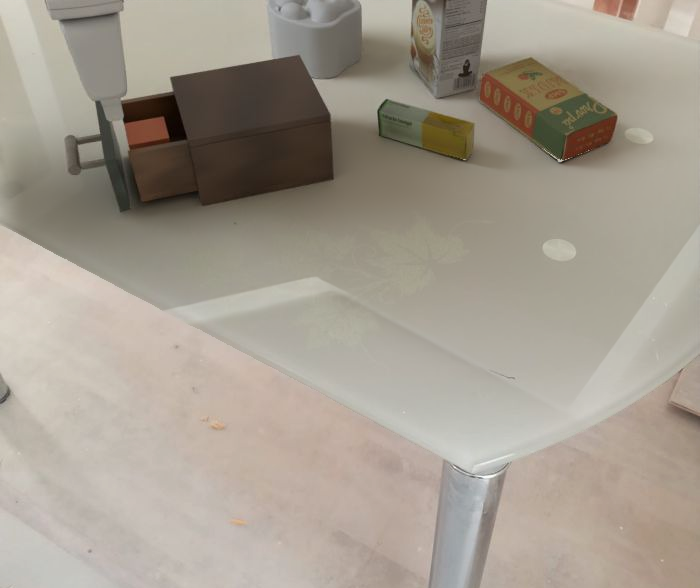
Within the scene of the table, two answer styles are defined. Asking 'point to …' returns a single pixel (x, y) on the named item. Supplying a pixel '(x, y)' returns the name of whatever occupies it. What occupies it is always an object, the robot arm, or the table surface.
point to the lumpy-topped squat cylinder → (317, 33)
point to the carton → (547, 108)
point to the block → (146, 133)
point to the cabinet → (254, 128)
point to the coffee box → (447, 44)
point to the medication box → (426, 129)
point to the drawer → (141, 152)
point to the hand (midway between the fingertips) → (110, 93)
